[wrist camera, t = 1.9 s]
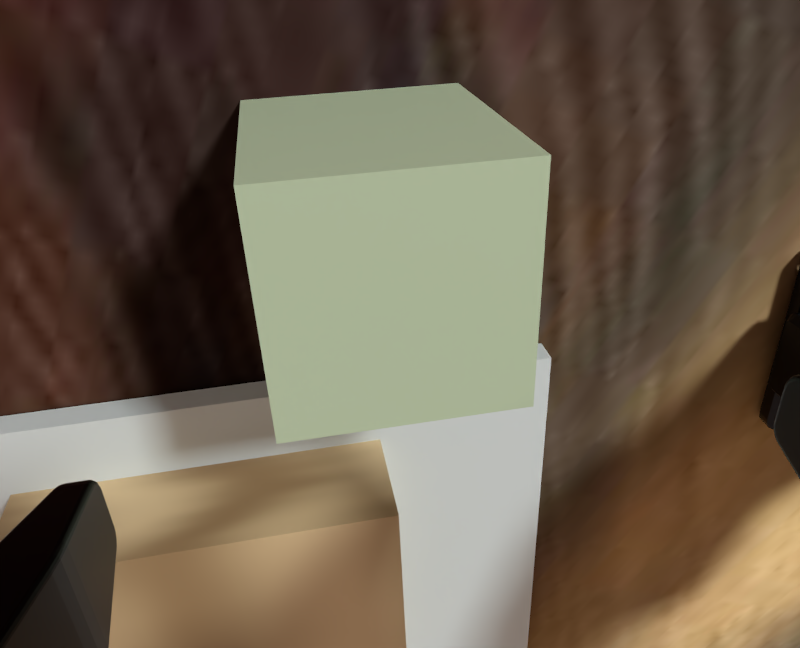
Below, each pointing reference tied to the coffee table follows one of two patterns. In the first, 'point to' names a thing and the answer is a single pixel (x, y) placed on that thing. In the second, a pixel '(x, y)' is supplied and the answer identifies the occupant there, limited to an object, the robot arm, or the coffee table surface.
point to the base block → (255, 553)
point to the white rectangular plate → (402, 446)
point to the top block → (391, 256)
